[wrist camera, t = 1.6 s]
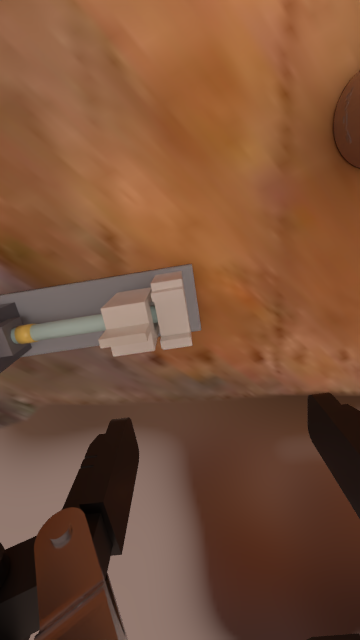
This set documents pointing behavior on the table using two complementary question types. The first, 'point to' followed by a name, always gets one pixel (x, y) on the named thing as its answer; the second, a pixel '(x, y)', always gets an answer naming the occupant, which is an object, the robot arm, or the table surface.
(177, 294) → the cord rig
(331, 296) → the table surface
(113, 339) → the cream stepped block
